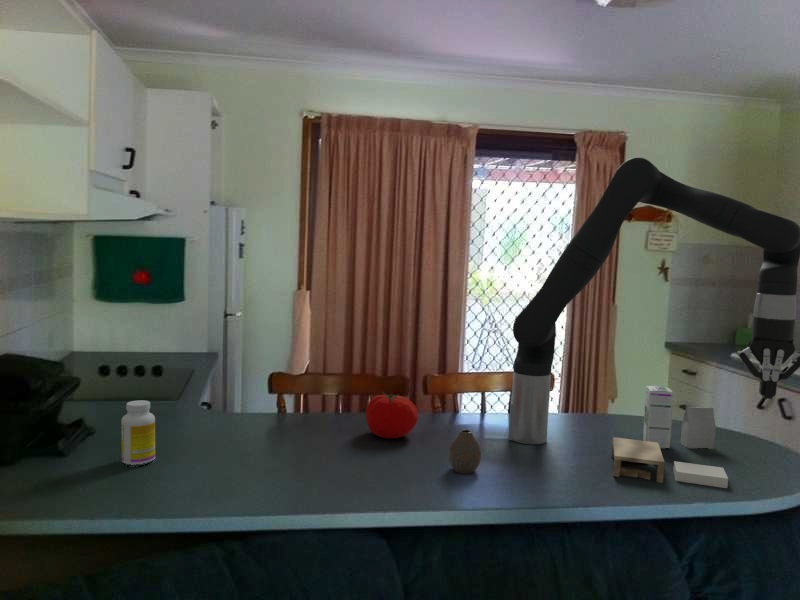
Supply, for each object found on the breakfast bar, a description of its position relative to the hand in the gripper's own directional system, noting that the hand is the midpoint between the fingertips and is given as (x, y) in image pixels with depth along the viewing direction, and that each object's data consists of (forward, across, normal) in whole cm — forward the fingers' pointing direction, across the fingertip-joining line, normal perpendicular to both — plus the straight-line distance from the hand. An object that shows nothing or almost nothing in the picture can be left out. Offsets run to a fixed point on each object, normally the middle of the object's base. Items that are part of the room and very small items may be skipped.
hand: (767, 397), depth 135 cm
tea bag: (+19, -9, +25) cm, 33 cm away
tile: (+20, -12, 0) cm, 23 cm away
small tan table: (+19, -25, +1) cm, 31 cm away
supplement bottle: (+18, -127, -37) cm, 133 cm away
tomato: (+19, -83, +2) cm, 85 cm away
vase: (+19, -61, -15) cm, 65 cm away
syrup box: (+19, -19, +22) cm, 35 cm away
